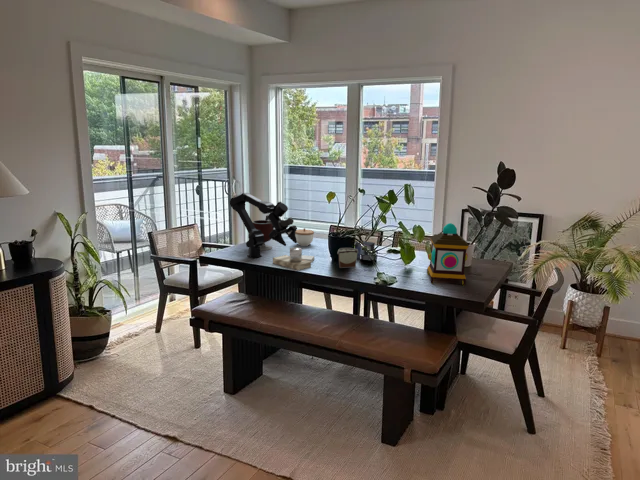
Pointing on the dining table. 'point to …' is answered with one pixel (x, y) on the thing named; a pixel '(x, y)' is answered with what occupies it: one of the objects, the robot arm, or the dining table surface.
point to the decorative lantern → (447, 255)
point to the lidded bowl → (304, 237)
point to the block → (308, 258)
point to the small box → (358, 246)
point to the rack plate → (286, 262)
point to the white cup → (295, 255)
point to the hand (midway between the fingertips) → (291, 244)
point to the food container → (347, 257)
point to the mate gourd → (264, 231)
